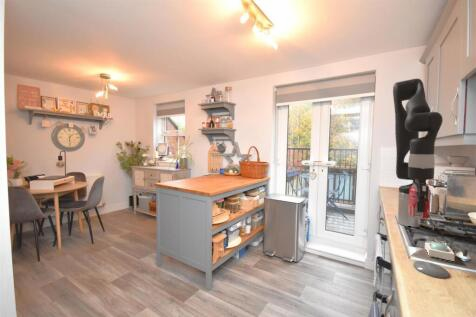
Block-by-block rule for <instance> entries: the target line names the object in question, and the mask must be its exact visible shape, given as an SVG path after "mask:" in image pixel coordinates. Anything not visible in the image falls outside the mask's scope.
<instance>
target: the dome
mask: <svg viewBox="0 0 476 317" xmlns="http://www.w3.org/2000/svg"><path fill="white" fill-rule="evenodd" d="M430 243H431V248H432V249H435V250H440V251H445V252H447V246H448V245H445V244H443V243H440V242H436V241H435V242H433V241H432V242H430Z"/></svg>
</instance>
